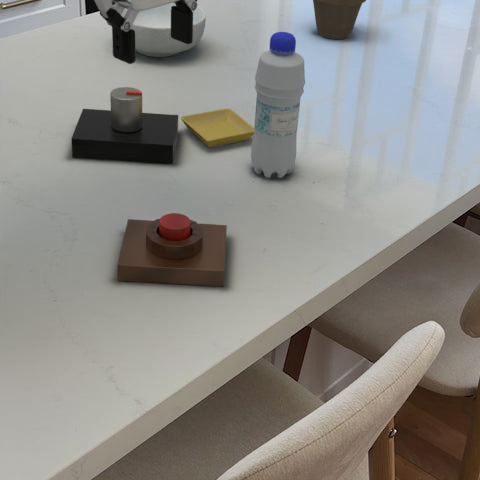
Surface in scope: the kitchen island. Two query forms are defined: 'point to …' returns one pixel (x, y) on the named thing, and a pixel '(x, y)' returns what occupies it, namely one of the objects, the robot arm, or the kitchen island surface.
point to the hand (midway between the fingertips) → (153, 50)
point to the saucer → (218, 127)
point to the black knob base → (125, 138)
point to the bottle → (277, 106)
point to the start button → (174, 227)
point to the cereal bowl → (162, 31)
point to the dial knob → (126, 109)
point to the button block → (173, 255)
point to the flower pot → (336, 17)
